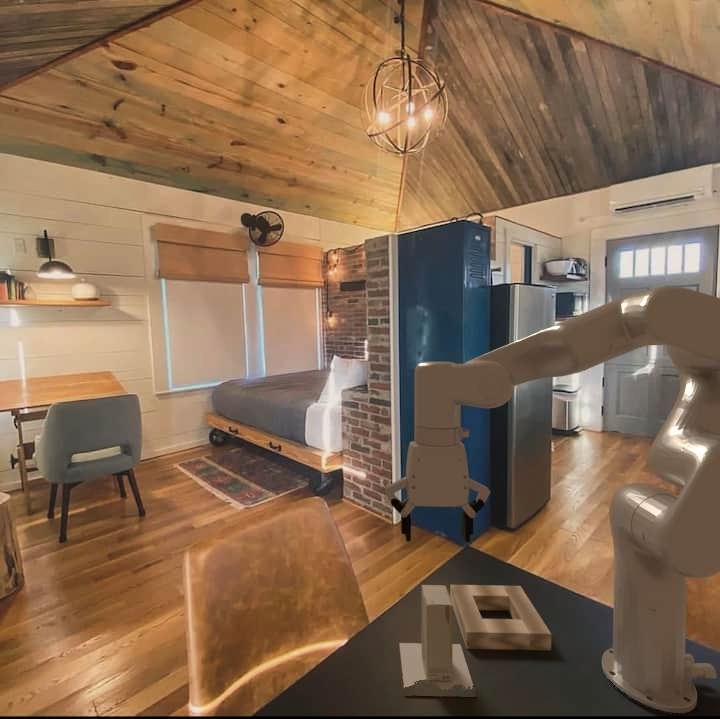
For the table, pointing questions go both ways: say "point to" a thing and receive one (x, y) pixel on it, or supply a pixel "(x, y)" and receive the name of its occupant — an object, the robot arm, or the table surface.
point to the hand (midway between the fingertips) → (436, 538)
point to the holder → (498, 633)
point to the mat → (415, 668)
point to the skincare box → (437, 632)
